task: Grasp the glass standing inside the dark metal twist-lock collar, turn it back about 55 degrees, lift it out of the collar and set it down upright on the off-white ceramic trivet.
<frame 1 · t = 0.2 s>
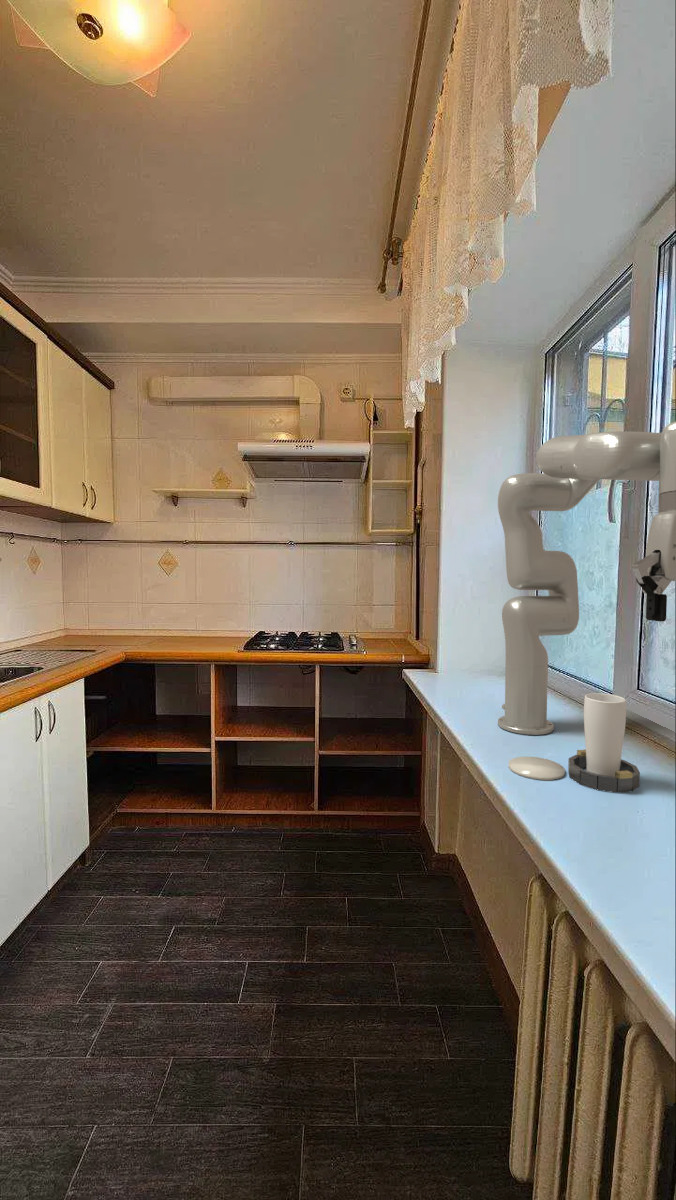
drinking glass: (602, 779, 92), resting in collar
trivet: (536, 769, 96), on the table
collar: (602, 778, 92), on the table
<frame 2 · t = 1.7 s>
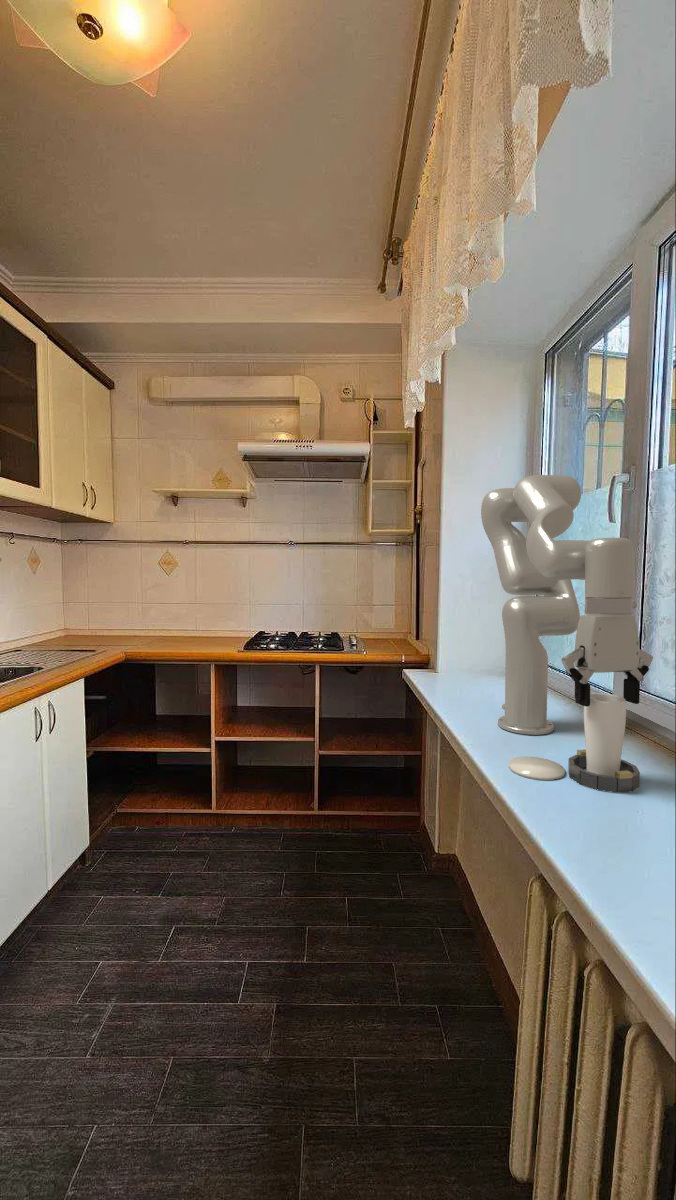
hand: (607, 703, 90), 14 cm above the table, tool pointing down, fingers open, 9 cm apart
nothing on the table moved.
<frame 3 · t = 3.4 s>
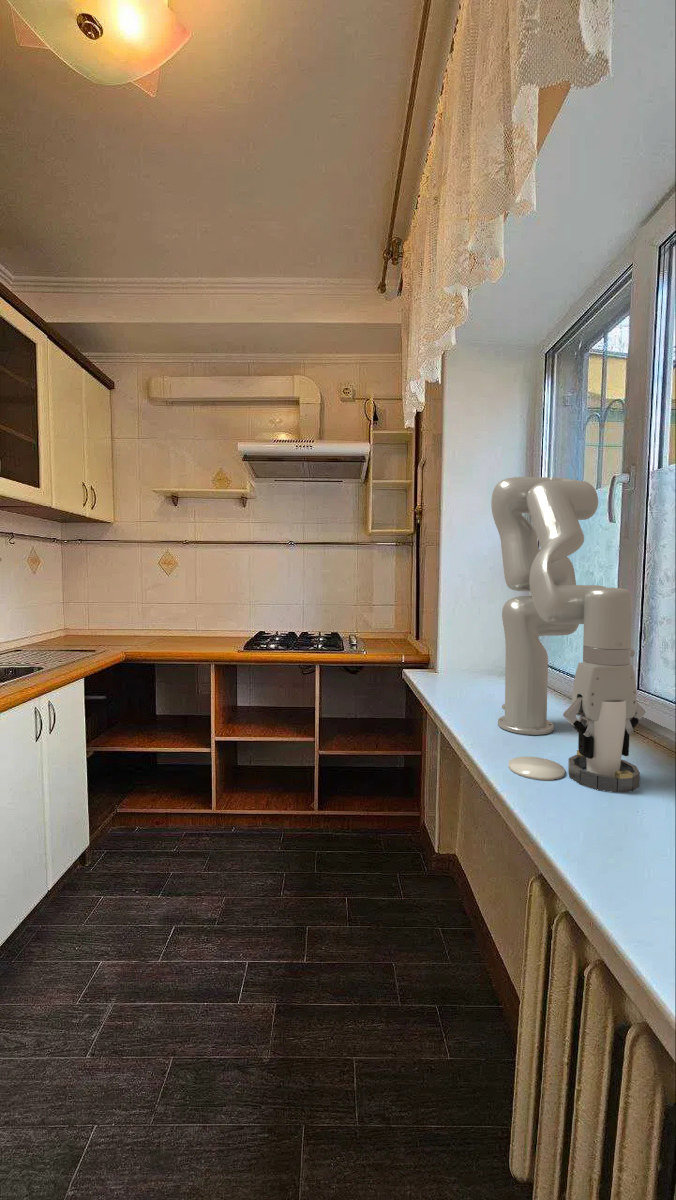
hand: (603, 753, 91), 5 cm above the table, tool pointing down, fingers closed on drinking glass, 6 cm apart
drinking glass: (602, 779, 92), resting in collar, touching gripper
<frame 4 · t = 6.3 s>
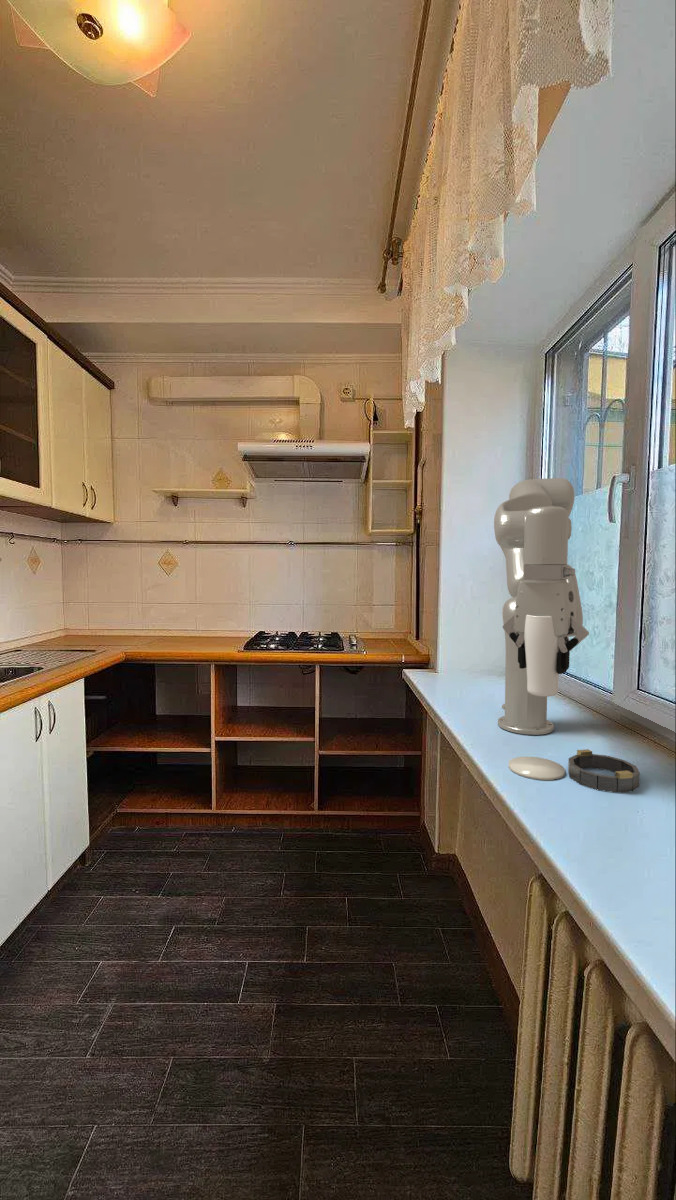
hand: (542, 669, 95), 19 cm above the table, tool pointing down, fingers closed on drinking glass, 6 cm apart
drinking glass: (542, 694, 95), point 14 cm above the table, touching gripper
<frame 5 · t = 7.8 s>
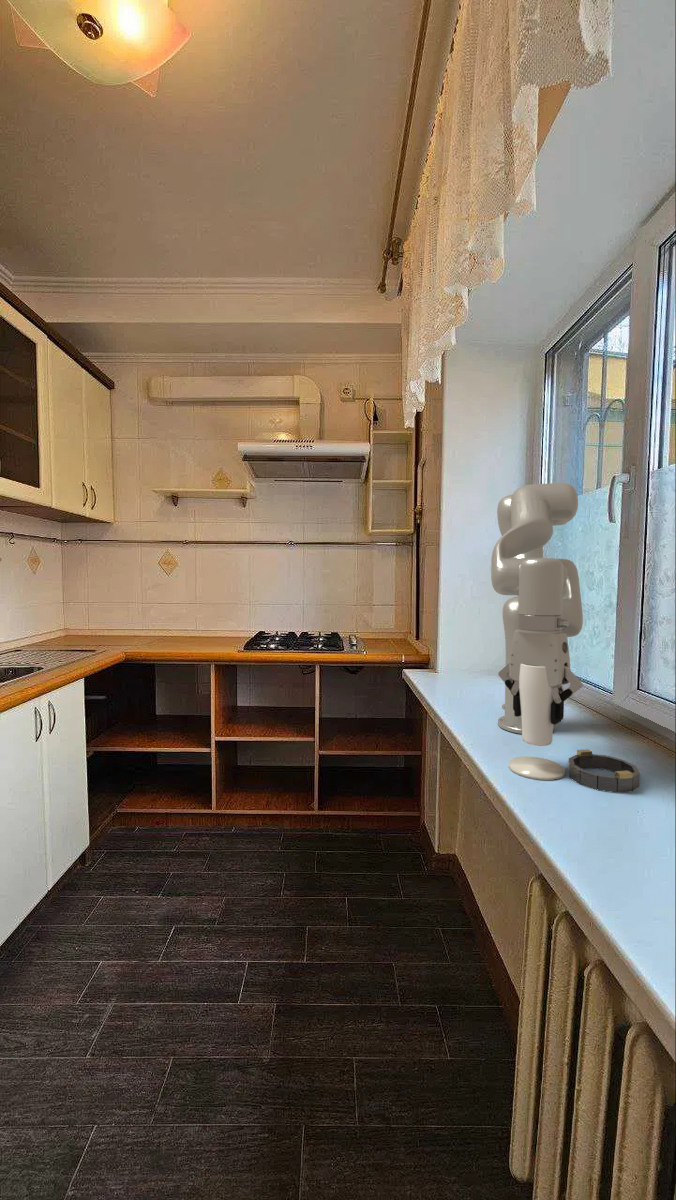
hand: (537, 718, 95), 10 cm above the table, tool pointing down, fingers closed on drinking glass, 6 cm apart
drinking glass: (536, 743, 95), point 5 cm above the table, touching gripper
when the fingers open (6 cm above the table, at t = 9.3 s): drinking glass drops 1 cm, resting on trivet.
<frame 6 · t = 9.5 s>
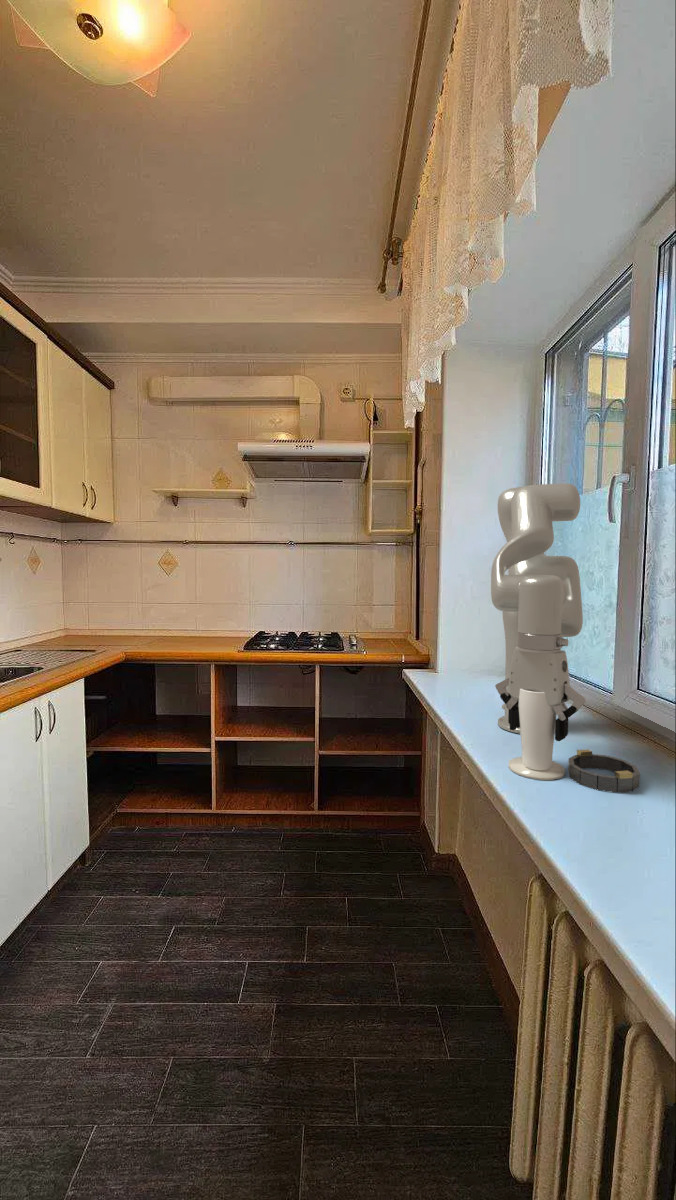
hand: (537, 733, 96), 7 cm above the table, tool pointing down, fingers open, 8 cm apart
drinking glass: (536, 767, 96), resting on trivet
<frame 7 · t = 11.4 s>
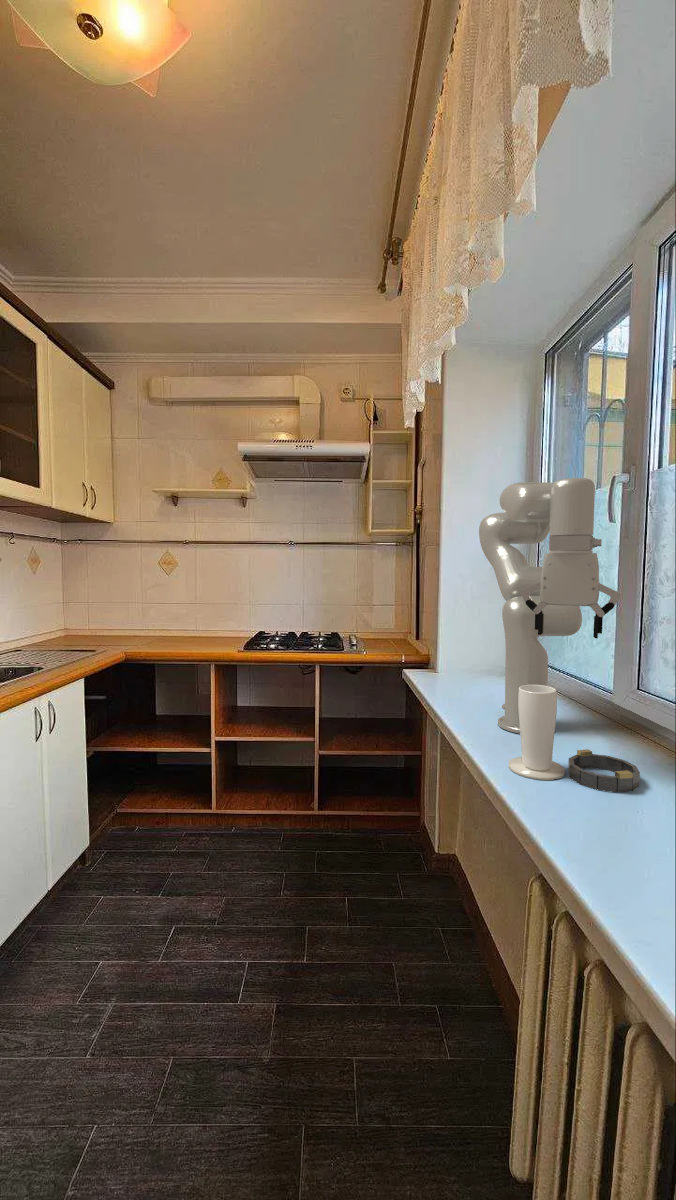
hand: (567, 635, 97), 25 cm above the table, tool pointing down, fingers open, 9 cm apart
nothing on the table moved.
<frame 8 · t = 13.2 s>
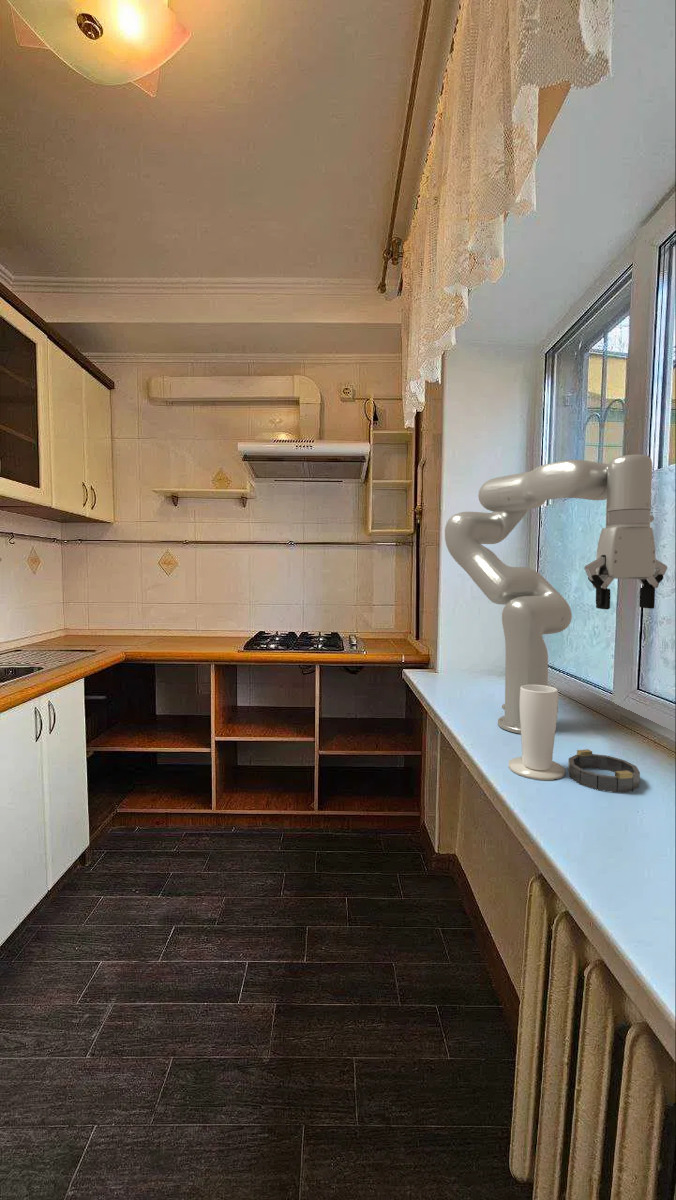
hand: (624, 608, 99), 30 cm above the table, tool pointing down, fingers open, 9 cm apart
nothing on the table moved.
at the end: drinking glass inside the target area on the trivet (0.1 cm from its centre), point 0.5 cm above the trivet's base; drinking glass tilted 1°; the gripper is holding nothing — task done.
